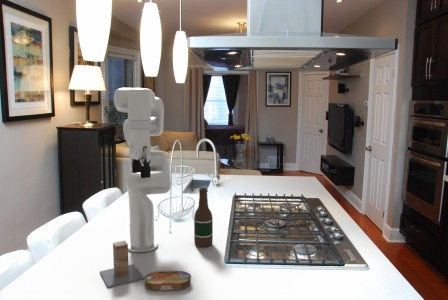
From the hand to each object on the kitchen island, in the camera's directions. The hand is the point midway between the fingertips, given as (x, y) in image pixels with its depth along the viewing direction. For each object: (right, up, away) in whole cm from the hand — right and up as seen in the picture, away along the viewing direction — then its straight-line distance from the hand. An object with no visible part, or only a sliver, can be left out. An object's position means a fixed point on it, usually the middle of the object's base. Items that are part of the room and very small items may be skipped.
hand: (141, 175), depth 125 cm
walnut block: (-7, -34, 0) cm, 35 cm away
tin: (+10, -34, -2) cm, 35 cm away
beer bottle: (+20, -31, +28) cm, 46 cm away
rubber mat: (-7, -35, 0) cm, 35 cm away
